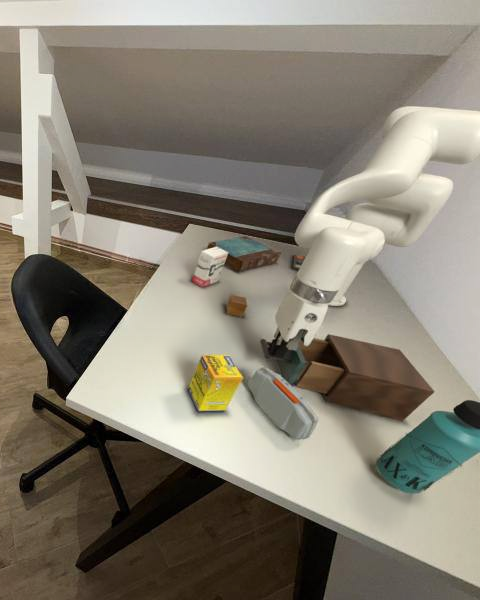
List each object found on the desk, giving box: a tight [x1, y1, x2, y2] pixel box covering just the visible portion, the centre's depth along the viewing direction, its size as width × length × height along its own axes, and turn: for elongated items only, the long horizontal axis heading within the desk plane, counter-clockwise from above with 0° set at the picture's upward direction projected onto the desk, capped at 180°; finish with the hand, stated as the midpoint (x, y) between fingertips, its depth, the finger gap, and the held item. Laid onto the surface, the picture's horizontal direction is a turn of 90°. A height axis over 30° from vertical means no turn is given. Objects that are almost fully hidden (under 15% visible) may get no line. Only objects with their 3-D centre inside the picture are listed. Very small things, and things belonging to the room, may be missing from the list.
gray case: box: [247, 366, 320, 441], centre depth 62 cm, size 14×3×8 cm, turn 17°
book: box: [206, 235, 282, 273], centre depth 127 cm, size 23×18×5 cm
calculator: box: [292, 254, 306, 271], centre depth 126 cm, size 12×1×15 cm
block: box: [225, 293, 248, 318], centre depth 94 cm, size 4×4×4 cm
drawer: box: [259, 337, 346, 394], centre depth 72 cm, size 19×11×8 cm, turn 74°
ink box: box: [191, 247, 228, 288], centre depth 106 cm, size 8×5×12 cm, turn 123°
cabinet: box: [321, 333, 435, 422], centre depth 69 cm, size 15×13×10 cm
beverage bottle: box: [375, 399, 480, 495], centre depth 49 cm, size 6×7×20 cm
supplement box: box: [187, 354, 244, 414], centre depth 63 cm, size 6×6×11 cm
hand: (274, 355), depth 73 cm, fingers closed
